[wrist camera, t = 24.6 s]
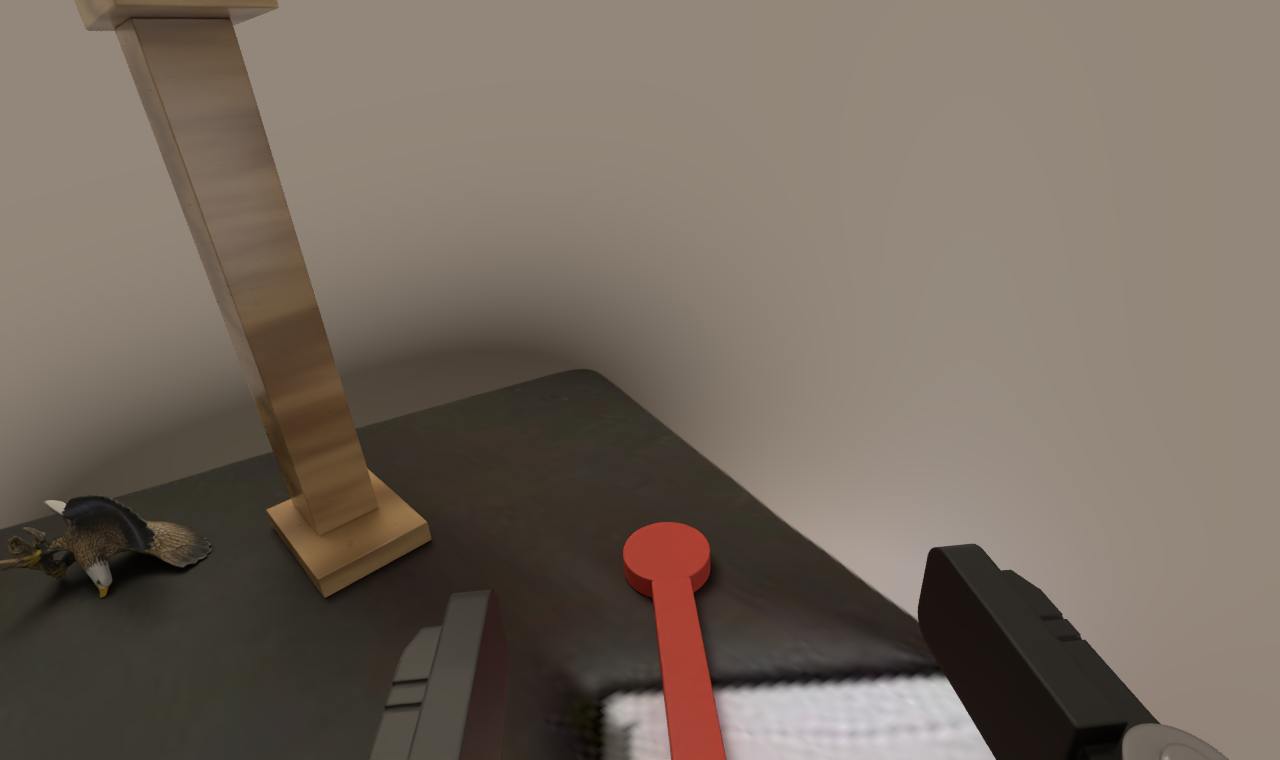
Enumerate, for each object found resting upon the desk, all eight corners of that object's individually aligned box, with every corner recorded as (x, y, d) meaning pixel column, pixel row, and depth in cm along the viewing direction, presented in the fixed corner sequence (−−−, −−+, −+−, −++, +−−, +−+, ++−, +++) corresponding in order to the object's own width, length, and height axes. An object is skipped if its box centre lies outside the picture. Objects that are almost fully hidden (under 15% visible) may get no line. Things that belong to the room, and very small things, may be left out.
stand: (432, 539, 41) (281, -31, 27) (324, 598, 37) (81, -42, 23) (370, 482, 48) (223, -1, 34) (272, 526, 44) (59, -6, 30)
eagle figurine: (-10, 635, 35) (159, 572, 36) (-44, 513, 35) (123, 456, 36) (94, 604, 42) (230, 553, 43) (64, 503, 43) (200, 456, 44)
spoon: (844, 1114, 18) (848, 1095, 17) (661, 1138, 17) (658, 1119, 17) (703, 535, 40) (702, 517, 40) (622, 543, 40) (620, 525, 39)
